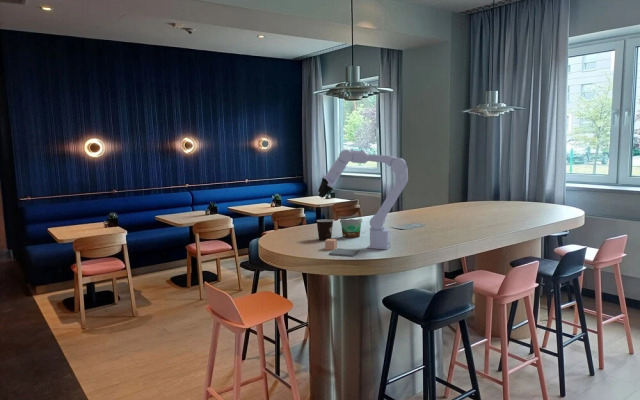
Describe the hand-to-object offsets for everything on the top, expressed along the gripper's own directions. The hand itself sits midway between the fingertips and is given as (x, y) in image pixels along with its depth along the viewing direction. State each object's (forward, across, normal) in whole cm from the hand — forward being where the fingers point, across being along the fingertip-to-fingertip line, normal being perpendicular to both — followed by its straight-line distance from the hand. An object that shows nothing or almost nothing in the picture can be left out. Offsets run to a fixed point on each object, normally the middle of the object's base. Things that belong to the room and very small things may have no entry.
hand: (320, 194), depth 228 cm
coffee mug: (+21, -10, +19) cm, 30 cm away
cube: (+17, +13, +16) cm, 27 cm away
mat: (+12, +23, +20) cm, 33 cm away
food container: (+14, -14, +30) cm, 36 cm away
